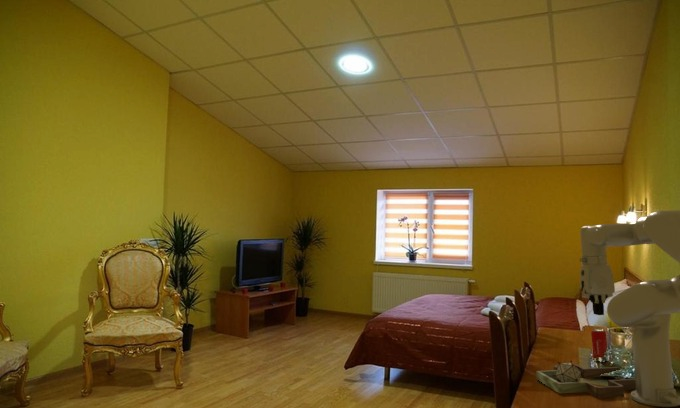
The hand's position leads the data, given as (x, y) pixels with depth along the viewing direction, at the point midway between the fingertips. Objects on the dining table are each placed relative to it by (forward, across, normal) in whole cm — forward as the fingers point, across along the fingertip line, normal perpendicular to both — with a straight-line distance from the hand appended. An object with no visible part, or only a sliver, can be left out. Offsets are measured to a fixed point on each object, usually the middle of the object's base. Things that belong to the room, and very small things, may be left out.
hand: (598, 314), depth 160 cm
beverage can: (+23, +17, +25) cm, 38 cm away
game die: (+23, -14, -2) cm, 27 cm away
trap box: (+23, -6, -1) cm, 23 cm away
